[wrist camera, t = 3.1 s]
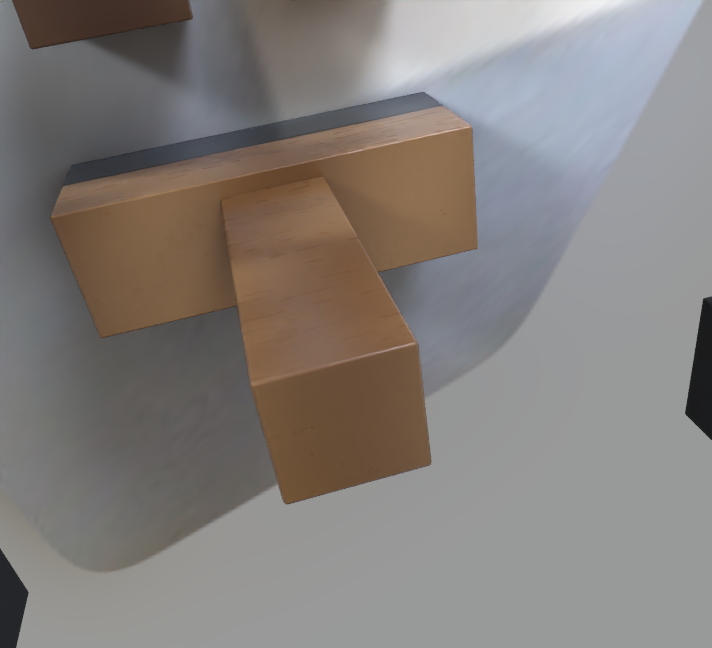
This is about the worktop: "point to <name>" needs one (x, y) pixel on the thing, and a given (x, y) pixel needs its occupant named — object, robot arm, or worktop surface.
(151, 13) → the walnut block
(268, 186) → the wooden t-shaped block
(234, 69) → the worktop surface
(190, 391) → the worktop surface
